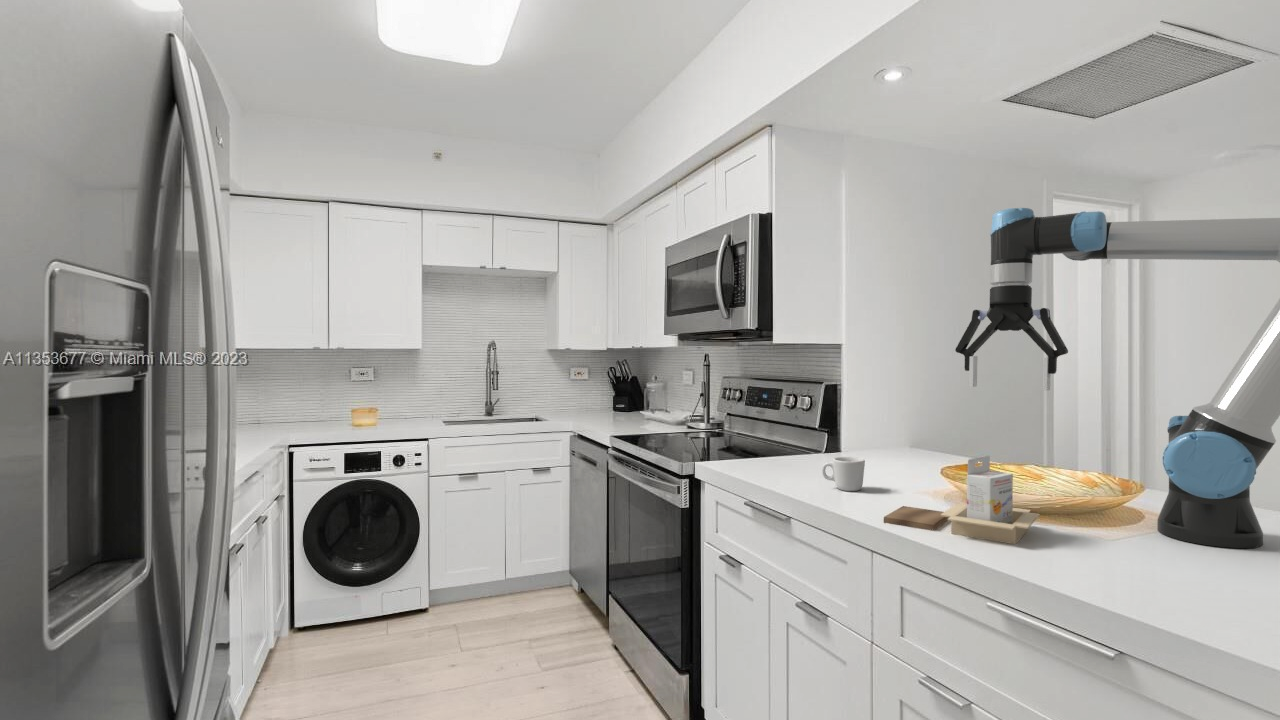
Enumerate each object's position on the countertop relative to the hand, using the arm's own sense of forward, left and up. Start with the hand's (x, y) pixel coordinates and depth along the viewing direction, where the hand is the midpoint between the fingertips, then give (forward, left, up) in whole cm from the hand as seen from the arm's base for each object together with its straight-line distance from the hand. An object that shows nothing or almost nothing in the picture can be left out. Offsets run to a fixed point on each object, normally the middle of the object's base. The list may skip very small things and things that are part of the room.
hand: (1008, 388), depth 133 cm
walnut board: (+16, +8, -28) cm, 33 cm away
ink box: (+2, +8, -29) cm, 30 cm away
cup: (+41, -12, -29) cm, 51 cm away
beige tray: (+2, +8, -28) cm, 29 cm away
